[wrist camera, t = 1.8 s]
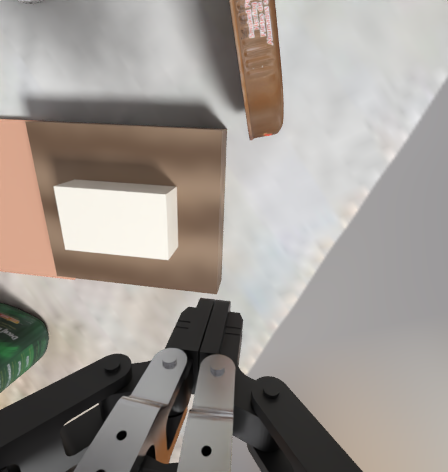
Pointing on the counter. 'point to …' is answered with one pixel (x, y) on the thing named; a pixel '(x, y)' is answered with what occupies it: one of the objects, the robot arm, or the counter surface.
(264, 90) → the tin
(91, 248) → the cream block
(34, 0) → the mug
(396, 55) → the counter surface
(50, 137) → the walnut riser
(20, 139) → the terracotta mat
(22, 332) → the coffee jar
